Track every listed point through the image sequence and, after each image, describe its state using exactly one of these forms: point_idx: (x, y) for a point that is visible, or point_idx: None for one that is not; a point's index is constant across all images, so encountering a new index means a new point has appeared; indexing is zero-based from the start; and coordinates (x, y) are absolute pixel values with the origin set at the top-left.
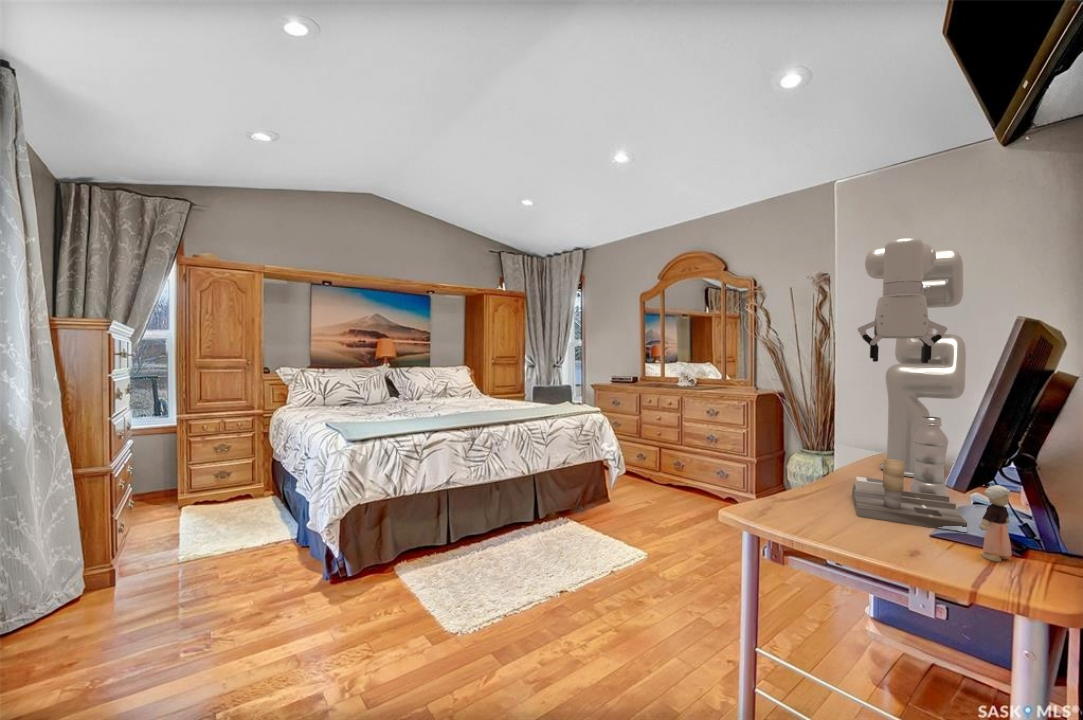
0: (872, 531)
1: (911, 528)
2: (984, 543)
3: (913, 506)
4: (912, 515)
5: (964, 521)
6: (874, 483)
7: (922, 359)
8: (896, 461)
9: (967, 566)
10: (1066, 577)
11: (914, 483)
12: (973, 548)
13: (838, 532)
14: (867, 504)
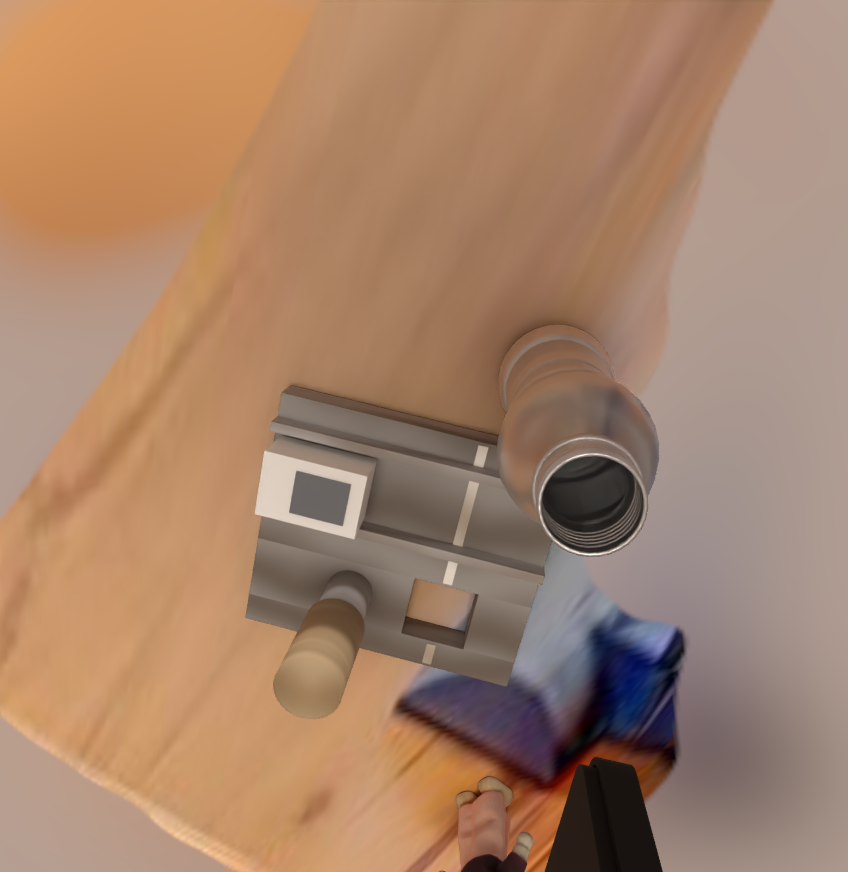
0: (263, 705)
1: (371, 664)
2: (458, 826)
3: (418, 572)
4: (381, 651)
5: (505, 676)
6: (309, 526)
7: (565, 863)
8: (315, 693)
9: (396, 848)
10: None
11: (501, 396)
12: (464, 760)
13: (180, 727)
14: (279, 587)
